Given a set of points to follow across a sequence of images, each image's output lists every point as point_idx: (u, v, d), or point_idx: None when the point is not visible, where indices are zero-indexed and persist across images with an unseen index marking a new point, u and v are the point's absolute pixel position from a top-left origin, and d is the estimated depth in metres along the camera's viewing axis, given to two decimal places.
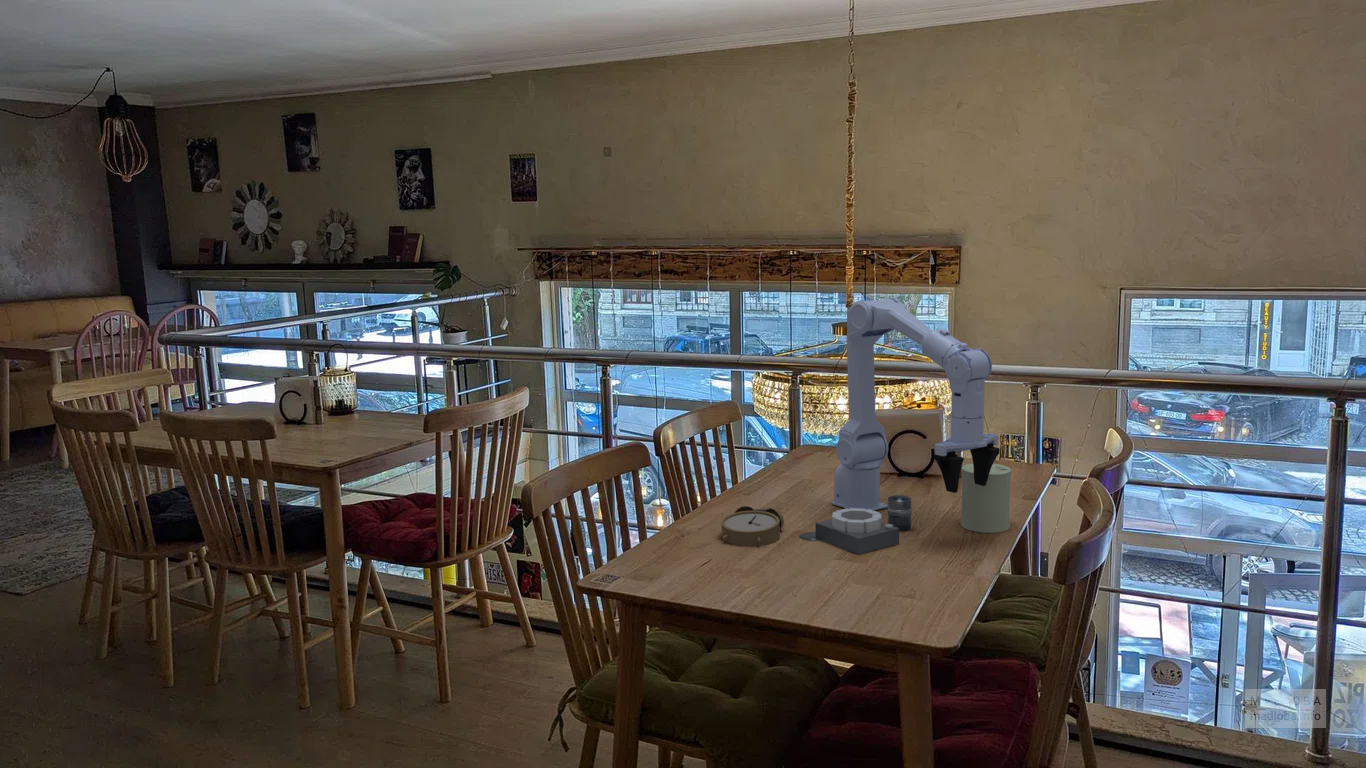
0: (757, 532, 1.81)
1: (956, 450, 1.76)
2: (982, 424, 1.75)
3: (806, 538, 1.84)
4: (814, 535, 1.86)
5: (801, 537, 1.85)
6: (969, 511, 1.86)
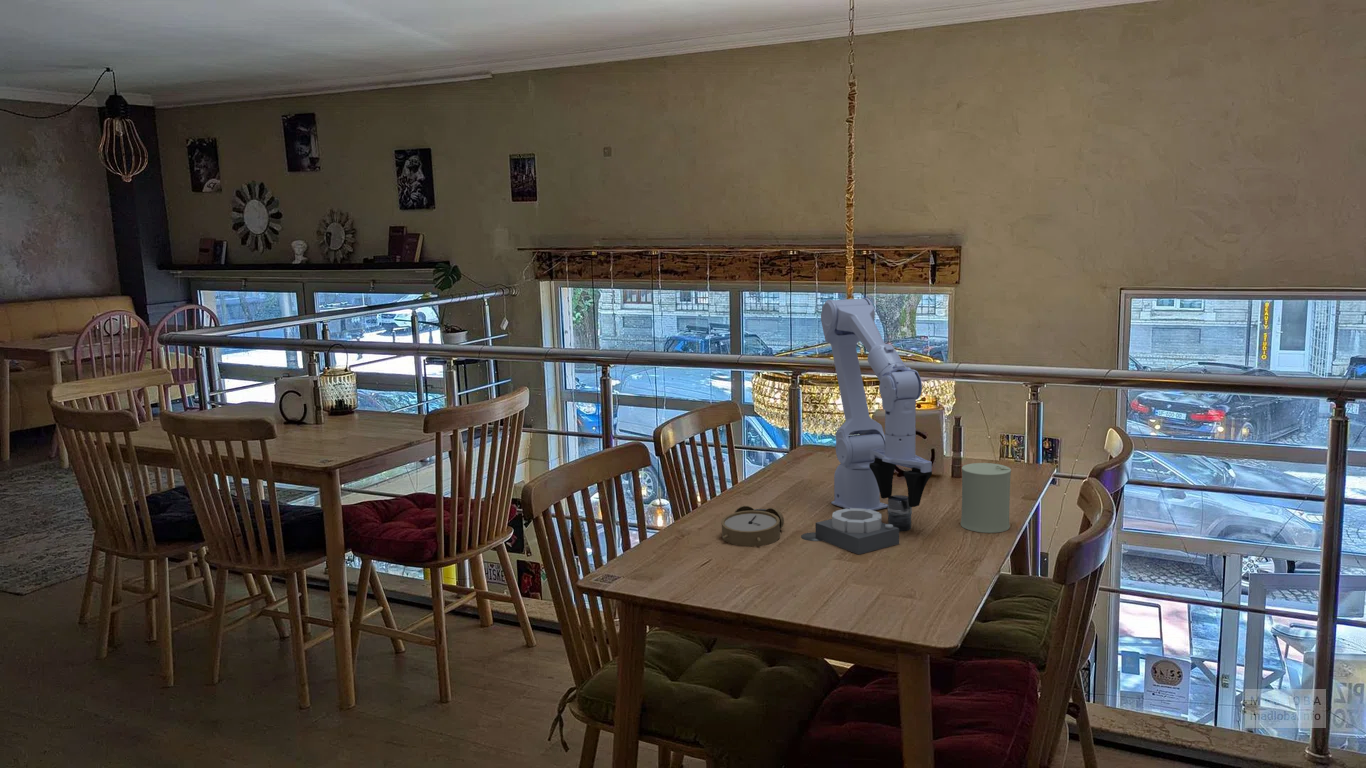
0: (757, 532, 1.81)
1: None
2: (893, 442, 1.84)
3: (808, 538, 1.84)
4: None
5: (803, 537, 1.85)
6: (969, 511, 1.86)
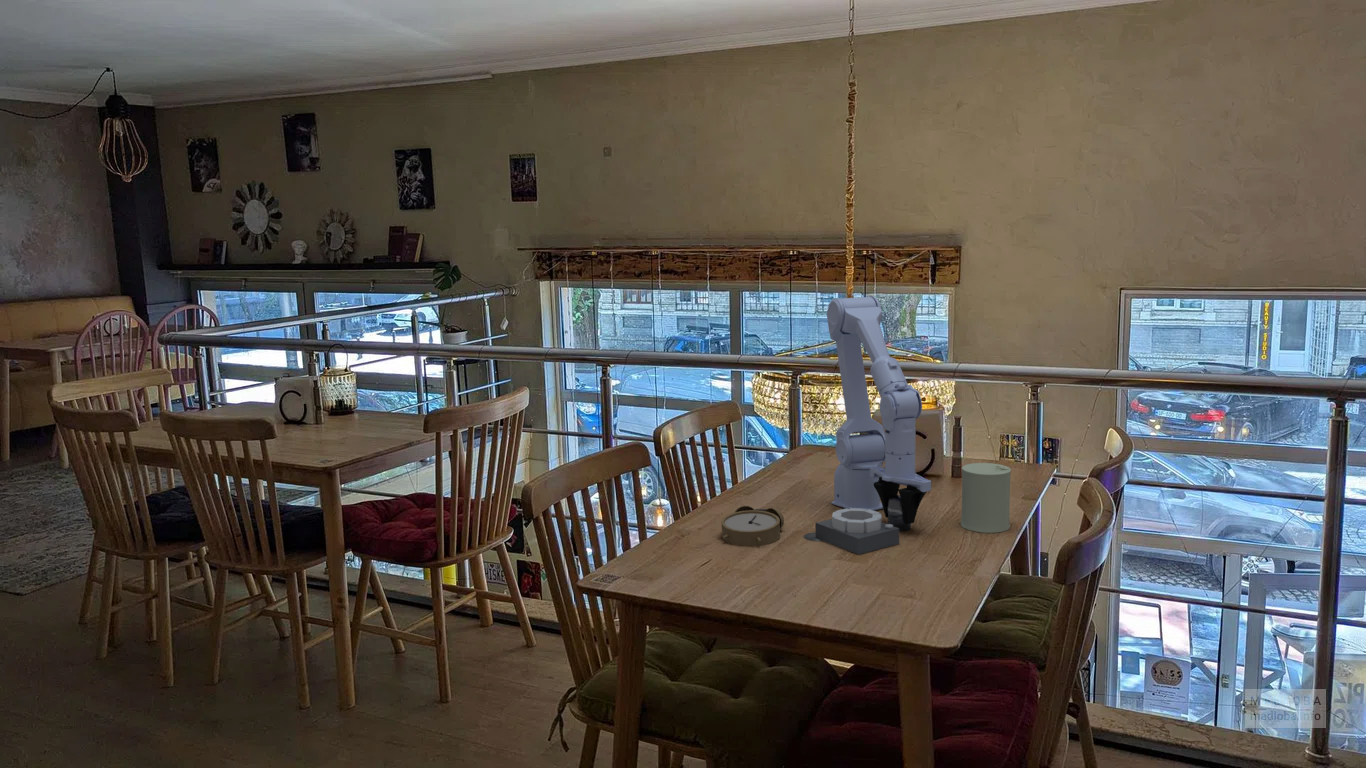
0: (757, 532, 1.81)
1: None
2: (893, 461, 1.85)
3: (810, 538, 1.84)
4: None
5: (805, 537, 1.85)
6: (969, 511, 1.86)
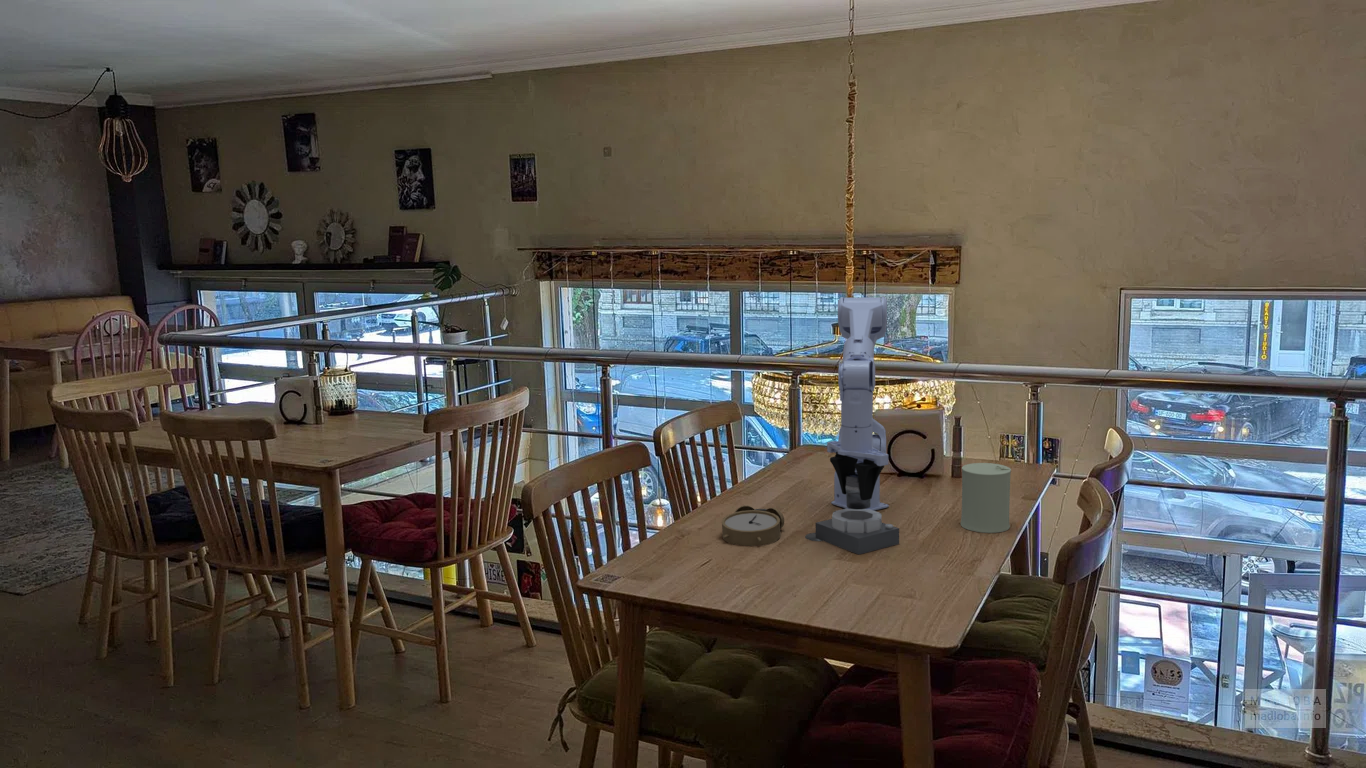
0: (758, 532, 1.81)
1: None
2: (849, 434, 1.77)
3: (812, 538, 1.84)
4: None
5: (807, 537, 1.85)
6: (969, 511, 1.86)
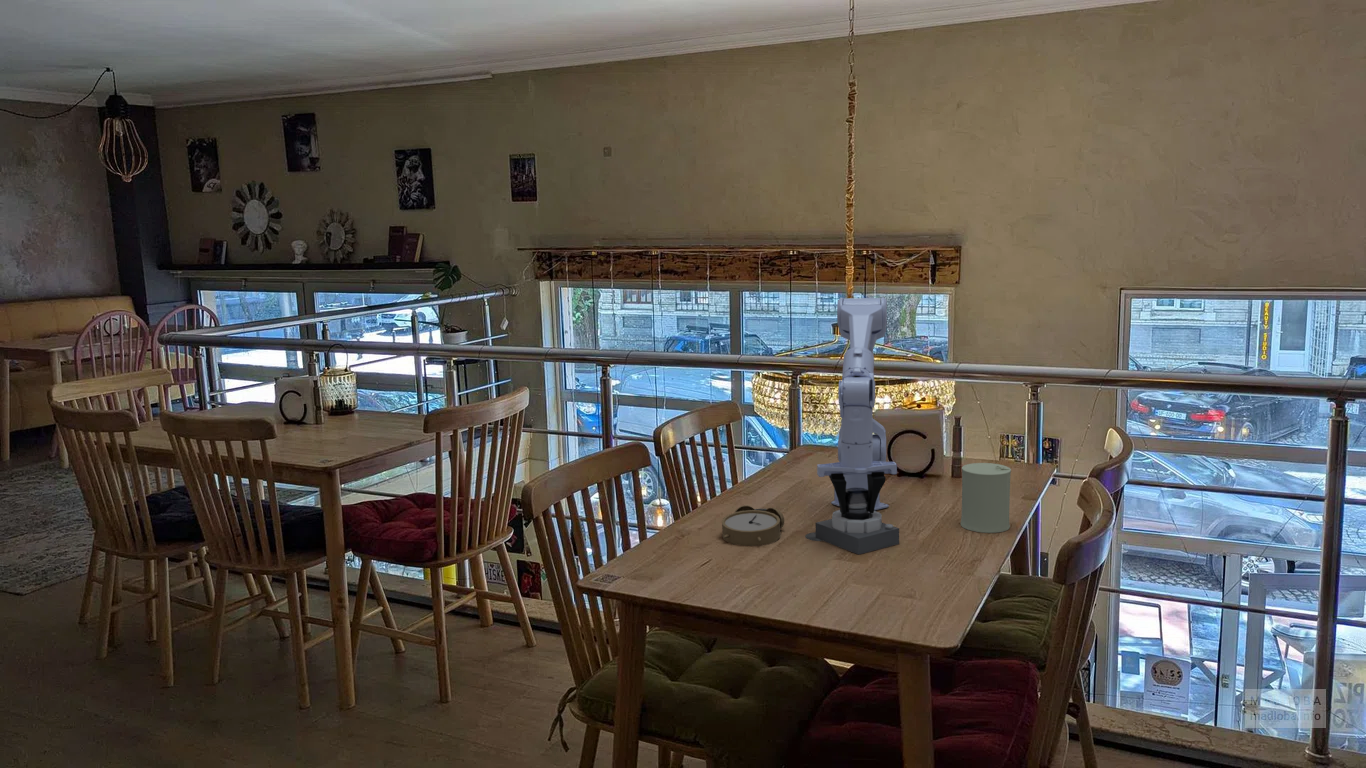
0: (758, 532, 1.81)
1: (840, 473, 1.80)
2: (865, 451, 1.77)
3: (812, 538, 1.84)
4: None
5: (807, 537, 1.85)
6: (969, 511, 1.86)
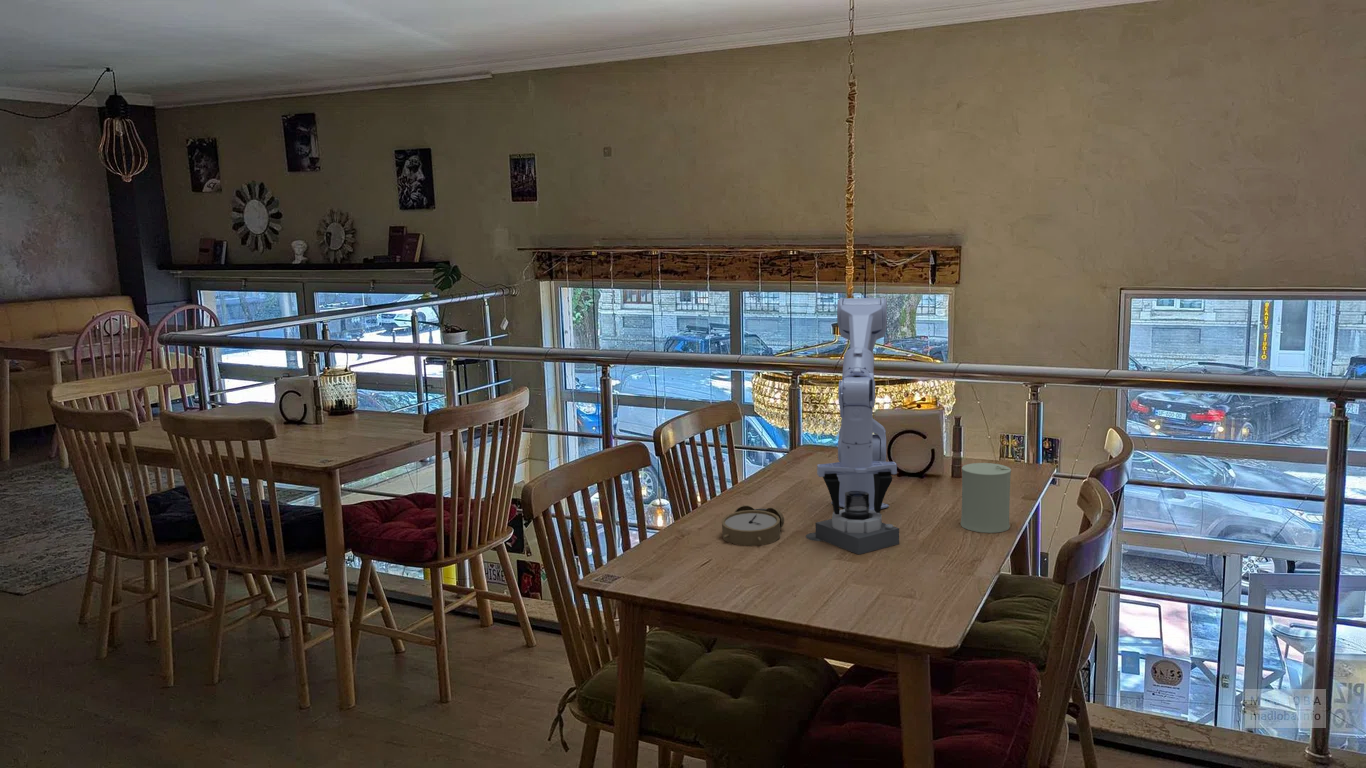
0: (758, 531, 1.81)
1: (840, 473, 1.80)
2: (865, 451, 1.77)
3: (812, 538, 1.84)
4: None
5: (808, 537, 1.85)
6: (969, 511, 1.86)
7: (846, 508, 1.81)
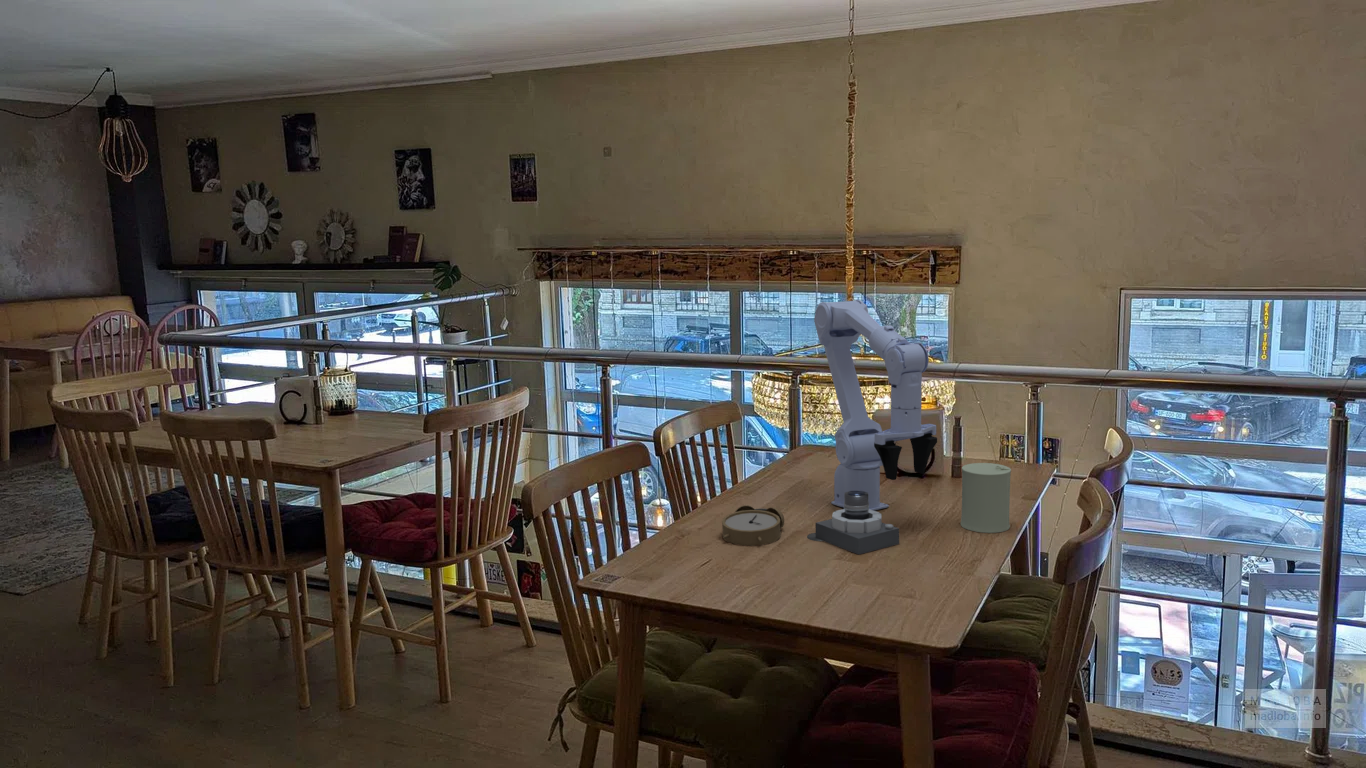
0: (758, 531, 1.81)
1: (895, 439, 1.85)
2: (919, 414, 1.84)
3: (814, 538, 1.84)
4: None
5: (809, 537, 1.85)
6: (969, 511, 1.86)
7: (846, 508, 1.81)
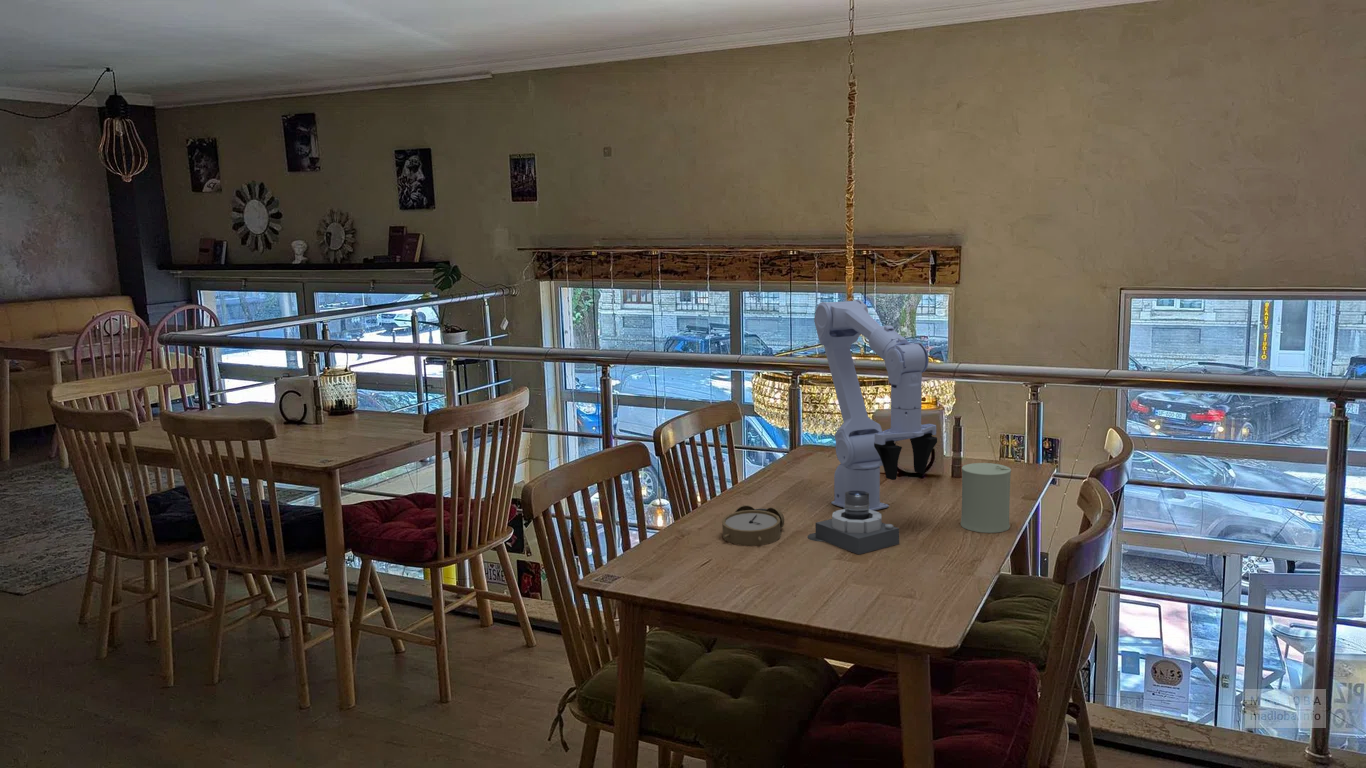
0: (758, 531, 1.81)
1: (895, 439, 1.85)
2: (919, 414, 1.84)
3: (815, 539, 1.84)
4: None
5: (810, 538, 1.85)
6: (969, 511, 1.86)
7: (846, 508, 1.81)
